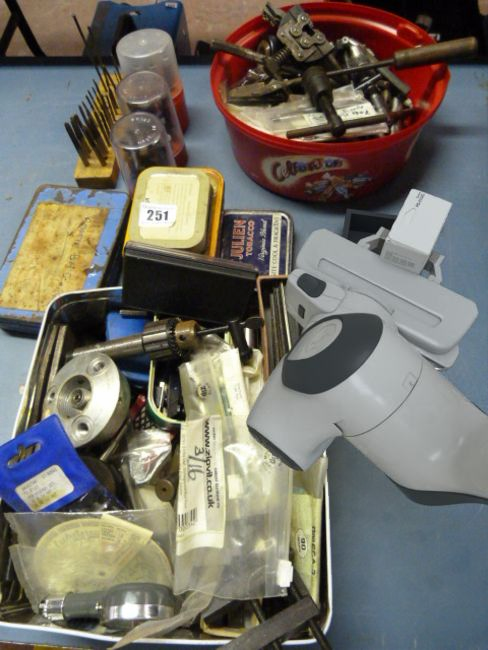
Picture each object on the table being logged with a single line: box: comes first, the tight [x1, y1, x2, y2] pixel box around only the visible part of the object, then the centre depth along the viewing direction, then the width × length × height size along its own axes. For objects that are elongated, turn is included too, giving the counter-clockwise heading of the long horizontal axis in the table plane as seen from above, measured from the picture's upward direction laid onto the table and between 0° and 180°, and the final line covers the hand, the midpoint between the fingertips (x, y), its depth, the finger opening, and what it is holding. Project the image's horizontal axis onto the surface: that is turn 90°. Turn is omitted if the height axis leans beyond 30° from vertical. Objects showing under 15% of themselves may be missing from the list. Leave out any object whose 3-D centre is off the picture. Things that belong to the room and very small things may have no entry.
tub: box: [341, 208, 398, 255], centre depth 76 cm, size 16×12×5 cm
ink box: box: [380, 188, 453, 276], centre depth 60 cm, size 8×5×12 cm, turn 152°
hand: (411, 244), depth 59 cm, fingers closed on ink box, 5 cm apart
